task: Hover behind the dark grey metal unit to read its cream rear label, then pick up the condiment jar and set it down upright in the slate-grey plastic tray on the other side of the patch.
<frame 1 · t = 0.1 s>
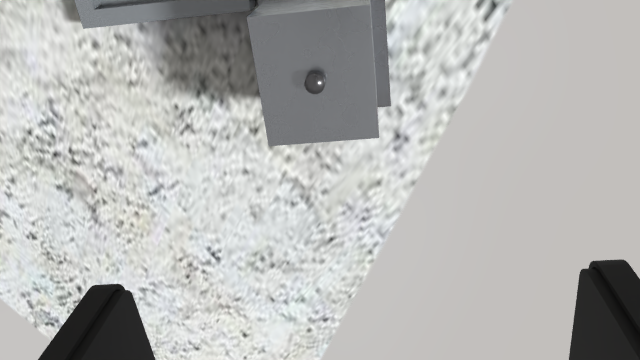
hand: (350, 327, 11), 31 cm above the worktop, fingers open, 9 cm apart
unit: (326, 44, 39), on the worktop
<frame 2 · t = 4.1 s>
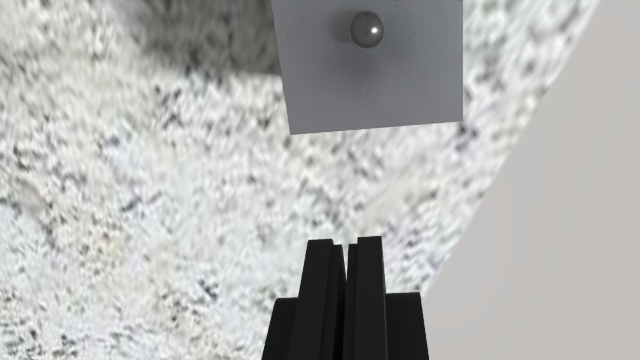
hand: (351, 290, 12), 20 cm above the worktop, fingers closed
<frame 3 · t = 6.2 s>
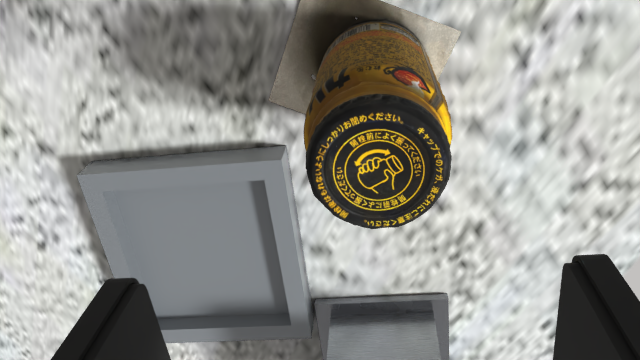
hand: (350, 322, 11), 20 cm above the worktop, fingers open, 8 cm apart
unit: (384, 350, 39), on the worktop
condiment: (360, 65, 29), on the worktop
tray: (210, 244, 35), on the worktop
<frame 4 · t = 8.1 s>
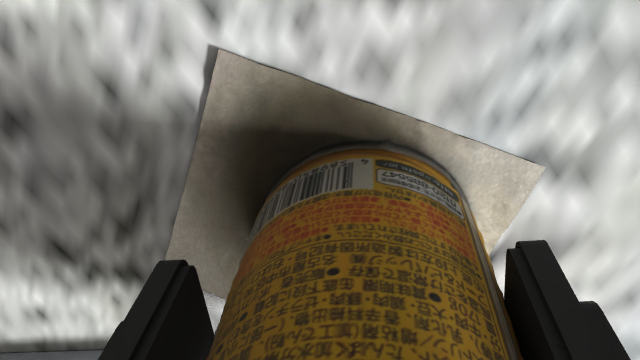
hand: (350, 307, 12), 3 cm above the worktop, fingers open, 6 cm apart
condiment: (336, 219, 15), on the worktop, touching gripper
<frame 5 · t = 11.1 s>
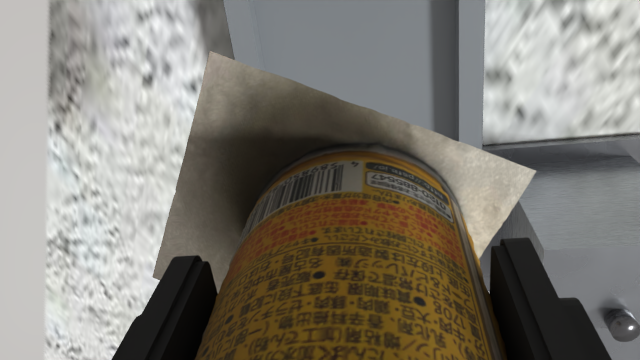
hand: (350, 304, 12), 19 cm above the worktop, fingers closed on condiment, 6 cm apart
unit: (555, 216, 32), on the worktop
condiment: (328, 221, 15), point 16 cm above the worktop, touching gripper
tray: (359, 71, 29), on the worktop
when the fingers open (5 cm above the worktop, at t = 14.0 s): condiment stays where it is, resting on tray.
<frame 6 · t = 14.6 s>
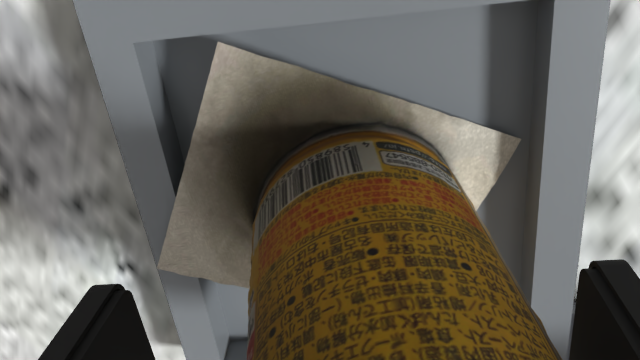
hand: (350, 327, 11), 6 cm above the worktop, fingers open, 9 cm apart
condiment: (329, 199, 16), point 1 cm above the worktop, touching tray
tray: (355, 186, 17), on the worktop
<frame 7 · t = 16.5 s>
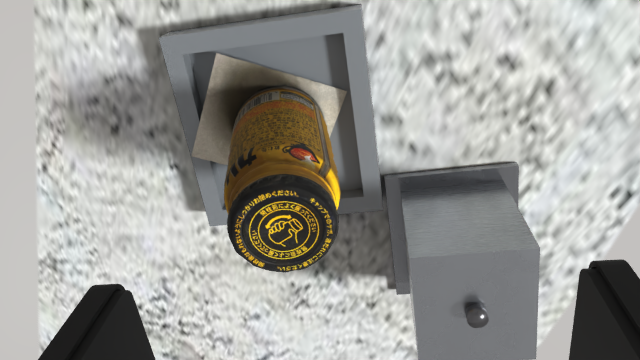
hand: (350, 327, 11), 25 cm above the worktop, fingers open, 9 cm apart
unit: (452, 230, 39), on the worktop
condiment: (267, 121, 35), point 1 cm above the worktop, touching tray
tray: (281, 118, 36), on the worktop
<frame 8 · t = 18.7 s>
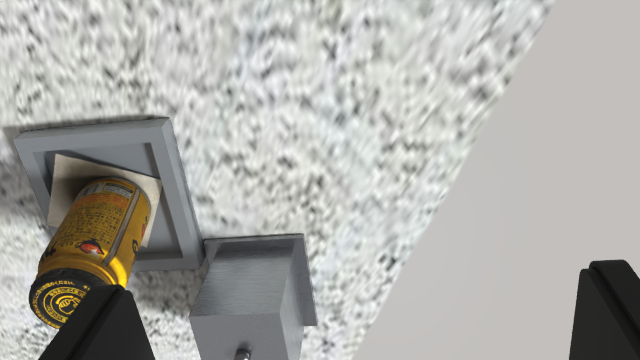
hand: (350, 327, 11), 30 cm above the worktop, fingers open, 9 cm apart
unit: (263, 281, 49), on the worktop
condiment: (105, 200, 45), point 1 cm above the worktop, touching tray
tray: (120, 195, 46), on the worktop
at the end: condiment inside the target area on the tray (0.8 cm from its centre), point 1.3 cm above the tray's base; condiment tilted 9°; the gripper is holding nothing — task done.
